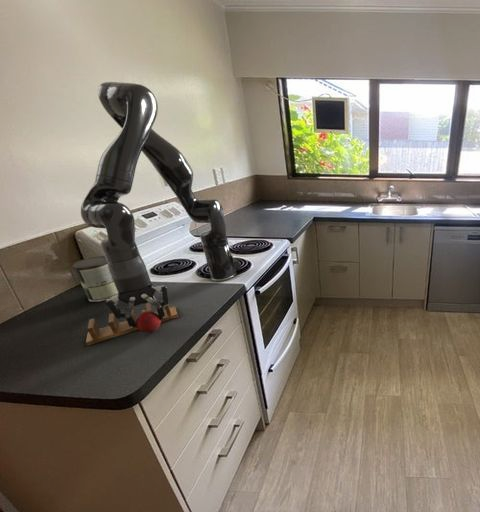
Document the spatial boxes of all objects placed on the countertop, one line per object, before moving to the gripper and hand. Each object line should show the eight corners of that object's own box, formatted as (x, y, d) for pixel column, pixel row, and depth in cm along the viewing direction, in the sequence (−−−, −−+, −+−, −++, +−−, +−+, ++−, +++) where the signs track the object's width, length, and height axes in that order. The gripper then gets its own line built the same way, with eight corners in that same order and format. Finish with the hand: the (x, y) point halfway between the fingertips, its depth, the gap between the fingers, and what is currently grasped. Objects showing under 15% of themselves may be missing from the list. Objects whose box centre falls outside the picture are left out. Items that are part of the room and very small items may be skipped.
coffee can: (80, 302, 105) (63, 267, 99) (106, 288, 114) (92, 255, 109) (107, 302, 104) (91, 267, 99) (131, 288, 114) (118, 255, 108)
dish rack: (175, 309, 100) (171, 296, 98) (178, 317, 96) (173, 303, 94) (89, 335, 87) (82, 321, 85) (87, 345, 83) (80, 330, 81)
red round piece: (162, 324, 92) (154, 302, 89) (165, 332, 88) (157, 310, 85) (139, 332, 88) (130, 310, 85) (141, 340, 85) (132, 318, 81)
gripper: (93, 285, 73) (117, 338, 80) (161, 269, 82) (178, 318, 88) (95, 275, 79) (117, 325, 85) (159, 261, 87) (175, 308, 94)
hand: (148, 321), depth 87 cm, fingers closed on red round piece, 6 cm apart
